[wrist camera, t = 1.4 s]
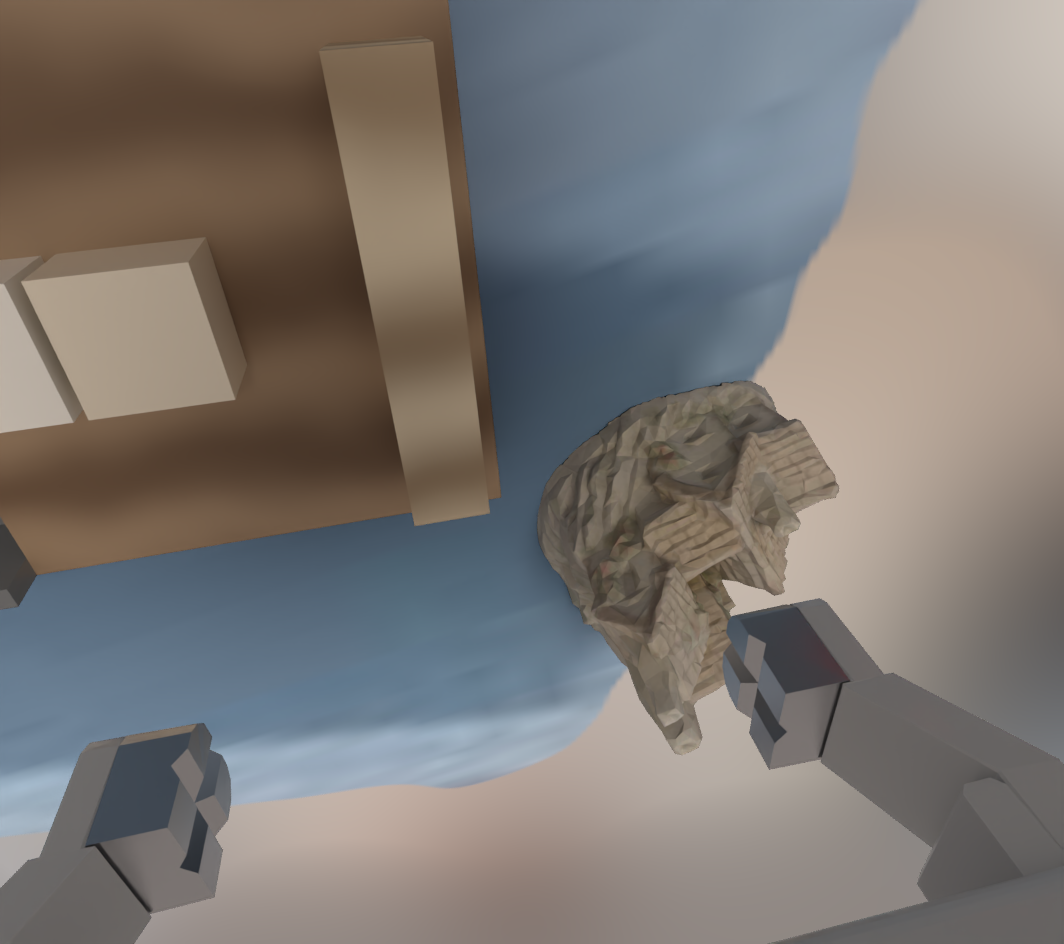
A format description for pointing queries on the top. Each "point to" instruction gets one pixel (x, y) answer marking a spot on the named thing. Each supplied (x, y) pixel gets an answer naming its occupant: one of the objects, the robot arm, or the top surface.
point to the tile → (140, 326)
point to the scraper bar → (410, 264)
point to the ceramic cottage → (679, 533)
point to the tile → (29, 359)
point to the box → (13, 570)
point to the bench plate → (239, 256)
